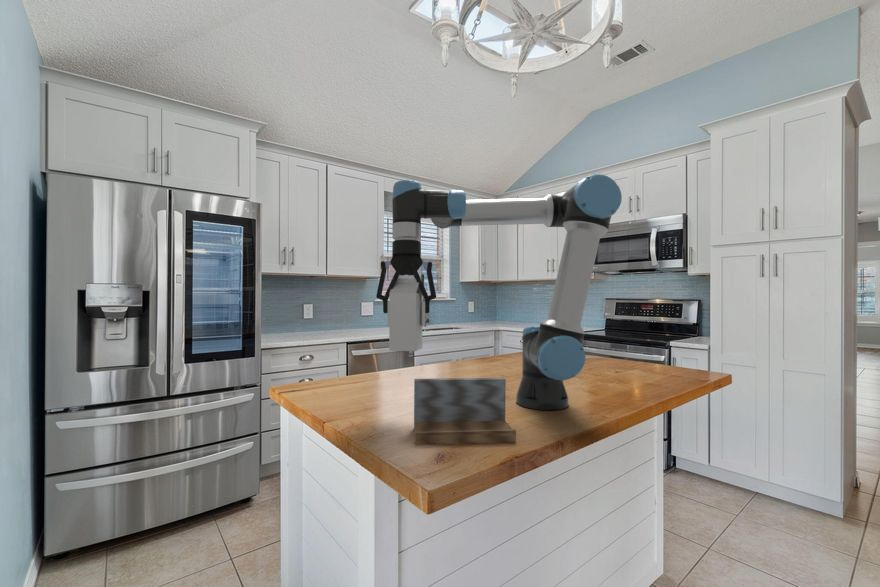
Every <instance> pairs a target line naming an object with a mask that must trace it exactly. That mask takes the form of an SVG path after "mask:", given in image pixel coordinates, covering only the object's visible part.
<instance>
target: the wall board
mask: <svg viewBox="0 0 880 587" xmlns="http://www.w3.org/2000/svg"><path fill="white" fill-rule="evenodd" d="M413 380H414V390H413V391H414V392H413V393H414V395H413V432H414V441H415V446H427V445H428V446H429V445H431V446H432V445H433V446H435V445H462V444H463V445H464V444H465V445H466V444H467V445H469V444H470V445H471V444H472V445H473V444H499V443H501V444H502V443H503V444H504V443H506V444H507V443H517V441H516V440H517V437H516V436H517V435H516V434H517V431H516V429H515V428H512V427H511V425H510V424H509V423H508V422H507V421H506V393H507V392H506V390H507V389H506V388H507V387H506V385H507V382H506V378H504V377H461V378H460V377H457V378H456V377H455V378H453V377H451V378H447V377H446V378H443V377H440V378H414V379H413Z"/></svg>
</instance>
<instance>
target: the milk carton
mask: <svg viewBox="0 0 880 587" xmlns="http://www.w3.org/2000/svg"><path fill="white" fill-rule="evenodd" d="M418 285H419V283H417V281H416V279H415V278H414V277H407V278H406V277H405V278H404V277H403V278H402V277H398V279H397V281H396V283H395V285H394V287H393V289H391V290H390V296H389V300H388V301H389V326H388V327H389V332H388V335H389V337H388V338H389V341H388V342H389V343H388V344H389V345H388V346H389V348H388V349H389V351H392V352H393V351H394V352H395V351H397V352H417V351H419V350H421V349H422V348H423V326H422V301H423V295H422V293H421V291H420V288H419V286H418Z"/></svg>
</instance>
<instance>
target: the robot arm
mask: <svg viewBox="0 0 880 587" xmlns="http://www.w3.org/2000/svg"><path fill="white" fill-rule="evenodd" d="M392 188H393V189H392V198H391V199H392V205H391V206H392V223H391V224H392V229H391V230H392V234H391V235H392V237H391V238H392V240H393V241H392V251H391V252H392V253H391V255H392V256H391V259H390V260H387V261H385V260H384V261H383V260H382V261H381V262H380V269H381V271H380V276H379V280H378V287H377V292H376V296H375V298H377V299H378V300H381V301H382V303H383V304H382V312H383V314H387V327H389V301H390V300H389V299H390V290H391V289H393V287H394V285H395V283H396V281H397V279H398V278H400V276H408V277H409V276H410V277H411V276H413V278H415V279H416V281H417V283H419V285H418V286H419V288H420V291H421V293H422V298H423V300H424V301H423V300H422V327H426V314H429V313H430V301H432V300H434V299H436V298H437V292H436V289H435V283H434V277H433V272H432V269H433V262H432V261H424V260H423V259H422V253H421V252H422V247H421V246H422V245H421V244H422V242H421V241H420V240H421V238H422V231H421V230H422V228H421V226H422V224H421V221H422V219H426V220H427V219H430V221H431V222H432V223H433V225H434V226H435V227H437V228H439V229H448V228H450V227H463V226H504V225H506V226H507V225H510V226H511V225H544V226H545V227H546V228H564V229H565V231H566V235H565V240H564V245H563V248H562V253H561V258H560V261H559V266H558V270H557V274H556V279H555V283H554V288H553V291H552V297H551V301H550V305H549V309H548V315H547V318H545V319H544V320H542V321H541V322H540V323H539V325H538V326H537V325H536V326H526V327H524V328H523V330H522V336H521V340H522V352H521V353H522V354H521V355H522V358H521V360H522V363H521V364H522V366H521V367H522V368H521V369H522V371H521V372H522V375H521V380H520V383H519V386H518V388H517V392H516V395H515V398H516V399H515V402H516V404H518V405H519V406H521V407H525V408H528V409H533V410H543V411H556V410H557V411H558V410H563V409H566V408H568V407H569V396H568V392H567V389H566V386H565V382H564V381H568V380H571V379H572V378H574V377H576V376H578V374H580V373H581V372H582V370H583V369H584V366H585V363H586V359H587V357H586V355H587V354H586V350H585V349H584V348H585V347H584V346H583V343H584V338H585V334H586V332H585V331H584V329H583V327H582V326H581V324H582V319H583V315H584V311H585V307H586V302H587V297H588V294H589V288H590V285H591V281H592V280H591V279H592V277H593V276H592V274H593V271H594V266H595V262H596V257H597V254H598V248H599V244H600V239H601V238H602V237H603V236H604V235H605V234H607V233H608V232H609V228H610V224H611V219H612V216H613V215H614V214H615V213H616V212H617V211H618V210H619V208H620V206H621V203H622V191H621V189H620V185H618V184H617V182H616V181H615V180H614V179H613V178H611V177H610V176H608V175H606V174H599V173H597V174H596V173H595V174H590V175H588V176H586V177H584V178H581V179H580V180H579V181H577V183H576V184H575V185H574V186H572V187H571V188H569V189H568V190H566V191H563V192H560V193H554V194H553V193H552V194H551V193H550V194H549V193H548V194H547V195H545V196H544V197H535V198H534V197H533V198H531V197H529V198H497V199H495V198H494V199H493V198H491V199H490V198H489V199H467V195H466V192H465V191H464V190H458V189H453V188H451V189H423V188H422V184H421V183H420V182H419V181H417V180H411V179H402V180H397V181H396V182H395V183H394V184H393V186H392ZM390 266H392V268H393V269H394V271H395V273H394V275H393V276H392V279H391V280H390V282H389V285H388V287H387V289H386V292H385V293H384V295H383V291H384V290H383V289H384V285H385V279H386V276H387V270H388V269H389V268H390ZM421 267H423V269H424V270H425V272H426V277H427V282H428V289H429V293H430V295H428V292H427V290H426V288H425V285H424V283H423V281H422V279H421V276H420V274H419V272H418V271H419V269H420V268H421Z"/></svg>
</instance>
